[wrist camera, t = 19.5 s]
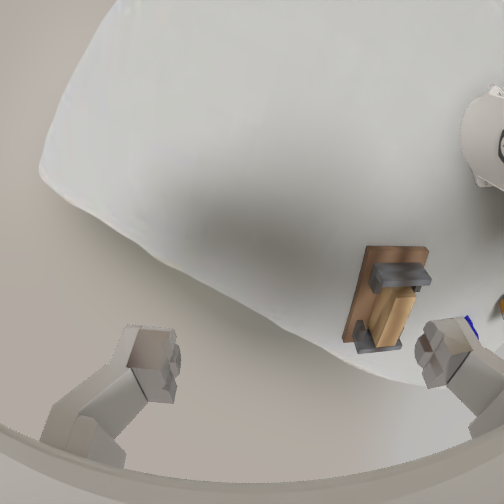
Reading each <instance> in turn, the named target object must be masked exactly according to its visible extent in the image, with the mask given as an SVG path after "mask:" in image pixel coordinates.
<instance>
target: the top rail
mask: <svg viewBox="0 0 504 504" xmlns="http://www.w3.org/2000/svg"><path fill="white" fill-rule="evenodd" d="M415 299H416V295H415V293H414V292H413V290H412V288H411V287H410V286H404V287H382V288H381V291H380V294H378V297H377V300H376V303H375V306H374V308H373V311H372V314H371V317H370V320H369V323H368V327H369V329H370V332H371V335H372V337H373V340H374V343H375V346H376V347H386V346H395V344H396V342H397V340H398V338H399V336H400V334H401V331H402V329H403V327H404V325H405V323H406V320H407V318H408V316H409V314H410V311H411V309H412V307H413V304H414V302H415Z"/></svg>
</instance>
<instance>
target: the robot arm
mask: <svg viewBox="0 0 504 504" xmlns="http://www.w3.org/2000/svg"><path fill="white" fill-rule="evenodd" d="M498 93H499V95H498ZM460 143H461V149H462V153H463V156H464V158H465V160H466V162H467V164H468V165H469V167H470V168H471V170H472V171H473V175H474V179H475V183H476V185H477V186H479V187H492V186H495V187H497V188H498V189H500V190H502V191H504V91H503V90H502V89H500V88H499V87H498V86H496V85H491V86H490V87H489V88H488V89H487V91H486V92H485V94H483V95H482V96H480V97H478V98H476V99H475V100H473V101H472V102H471V103H470V105H469V106H468V107H467V109H466V111H465V113H464V116H463V119H462V122H461V128H460ZM423 331H424V334H423V335H422V336H421V337H419V338H418V340H417V342H416V344H415V352H414V353H415V358H416V361H417V363H418V365H420V366H421V367H422V368H423V372H422V375H423V378H424V380H425V383H426V385H427V388H428V389H430V388H434V387H439V386H444V385H447V387H448V388H449V389H450V390H451V391H452V392H453V393H454V394H455V395H456V396H457V397H458V398H459V399H460V400H461V401H462V402H463V403H464V404H465V405H466V406H467V407H468V408H469V409H470V410H471V411H472V412H473V413H474V414H475V415H476V416H477V418H476V419H475V420H474V421H473V422H471V423H470V425H469V427H468V428H469V431H470V433H471V436H472V440H469V441H467V442H464V443H462V444H460V445H457V446H455V447H452V448H449V449H446V450H444V451H441V452H438V453H435V454H432V455H429V456H426V457H423V458H420V459H416V460H413V461H409V462H406V463H402V464H399V465H395V466H391V467H387V468H383V469H378V470H373V471H369V472H364V473H359V474H353V475H347V476H341V477H334V478H327V479H318V480H308V481H296V482H280V483H226V482H209V481H198V480H187V479H180V478H172V477H165V476H159V475H153V474H148V473H142V472H137V471H133V470H128V469H124V463H125V458H126V453H125V451H124V450H123V449H122V448H121V447H120V446H119V445H118V444H117V443H116V442H115V441H114V439H115V438H116V437H117V436H118V435H119V434H120V433H121V432H122V431H123V429H124V428H125V427H126V426H127V425H128V424H129V423H130V422H131V421H132V420H133V419H134V418H135V416H136V415H137V414H138V413H139V412H140V411H141V410H142V409H143V408H144V407H145V406H146V404H147V403H148V402H147V401H150V402H159V403H171V404H174V399H175V394H176V389H177V385H176V382H175V378H176V377H177V376H178V375H179V373H180V367H181V354H180V348H179V346H178V345H177V344H175V342H176V338H177V336H176V333H175V330H174V329H171V328H161V327H149V326H138V325H128V324H127V325H126V326H125V327H124V329H123V331H122V334H121V337H120V339H119V341H118V344H117V346H116V349H115V352H114V354H113V357H112V359H111V362H110V364H109V365H104V366H102V367H101V368H100V369H99V370H97V371H96V372H95V373H93V374H92V375H91V376H90V377H88V378H87V379H86V380H84V381H83V382H82V383H81V384H79V385H78V386H77V387H75V388H74V389H73V390H72V391H70V392H69V393H68V394H66V395H65V396H64V397H63V398H61V399H60V400H59V401H58V402H56V403H55V404H54V405H53V406H52V408H51V411H50V413H49V416H48V419H47V421H46V424H45V426H44V429H43V432H42V435H41V438H40V440H39V441H37V440H35V439H32V438H30V437H28V436H25V435H23V434H21V433H19V432H17V431H15V430H12V429H11V428H8V427H6V426H5V425H2V424H0V504H504V360H503V359H501V358H500V357H498V356H497V355H496V354H494V353H493V352H491V351H490V350H488V349H487V348H483V347H482V345H481V343H480V342H479V340H478V338H477V337H476V335H475V333H474V332H473V330H472V328H471V327H470V325H469V324H468V322H467V321H466V319H465V318H463V317H456V318H448V319H441V320H434V321H429V322H428V323H426V325H425V327H424V328H423Z"/></svg>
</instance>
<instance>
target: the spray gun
mask: <svg viewBox="0 0 504 504" xmlns="http://www.w3.org/2000/svg"><path fill="white" fill-rule="evenodd" d="M500 308H501V313H502V317H503V319H504V298H503V299H502V300H501V302H500Z"/></svg>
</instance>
